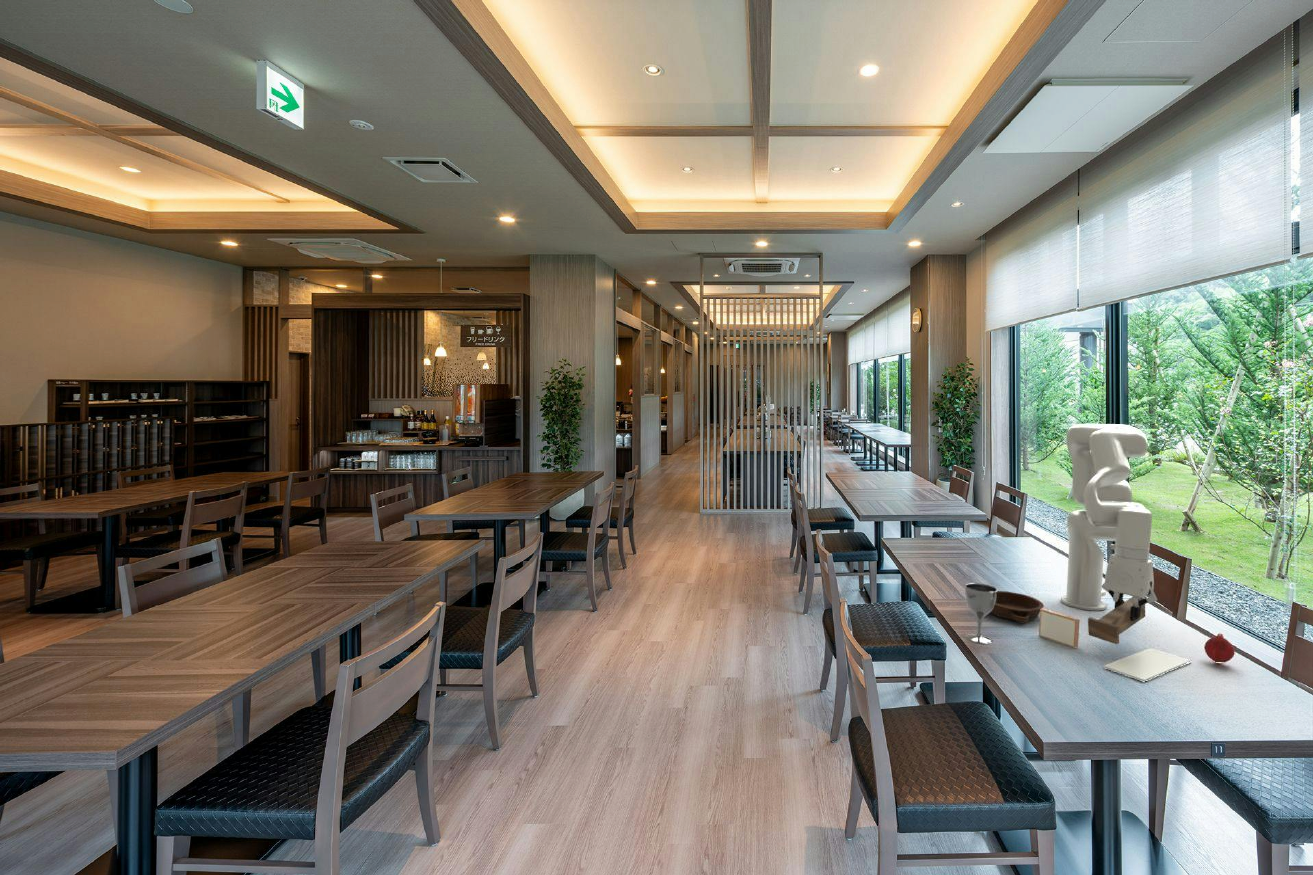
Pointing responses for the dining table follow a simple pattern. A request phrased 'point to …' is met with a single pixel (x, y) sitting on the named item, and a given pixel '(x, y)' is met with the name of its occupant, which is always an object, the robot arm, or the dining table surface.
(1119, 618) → the brown wooden brick
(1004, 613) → the dish
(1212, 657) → the onion
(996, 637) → the dining table surface
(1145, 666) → the board
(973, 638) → the wine glass
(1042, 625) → the wooden picture frame
